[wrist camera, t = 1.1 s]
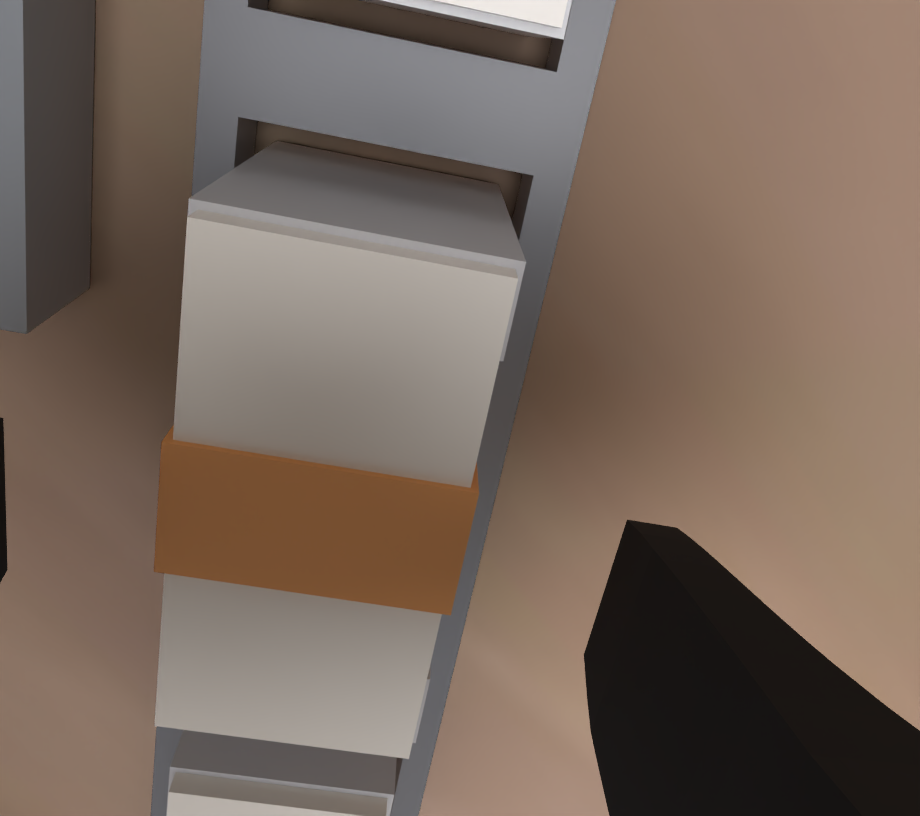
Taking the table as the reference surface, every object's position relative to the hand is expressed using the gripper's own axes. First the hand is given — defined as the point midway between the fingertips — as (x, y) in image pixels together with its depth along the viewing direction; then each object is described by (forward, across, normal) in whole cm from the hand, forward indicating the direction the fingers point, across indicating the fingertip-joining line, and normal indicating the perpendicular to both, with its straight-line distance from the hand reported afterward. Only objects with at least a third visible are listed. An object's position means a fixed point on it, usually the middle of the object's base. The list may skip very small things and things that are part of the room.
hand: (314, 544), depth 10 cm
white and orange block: (+6, 0, 0) cm, 6 cm away
